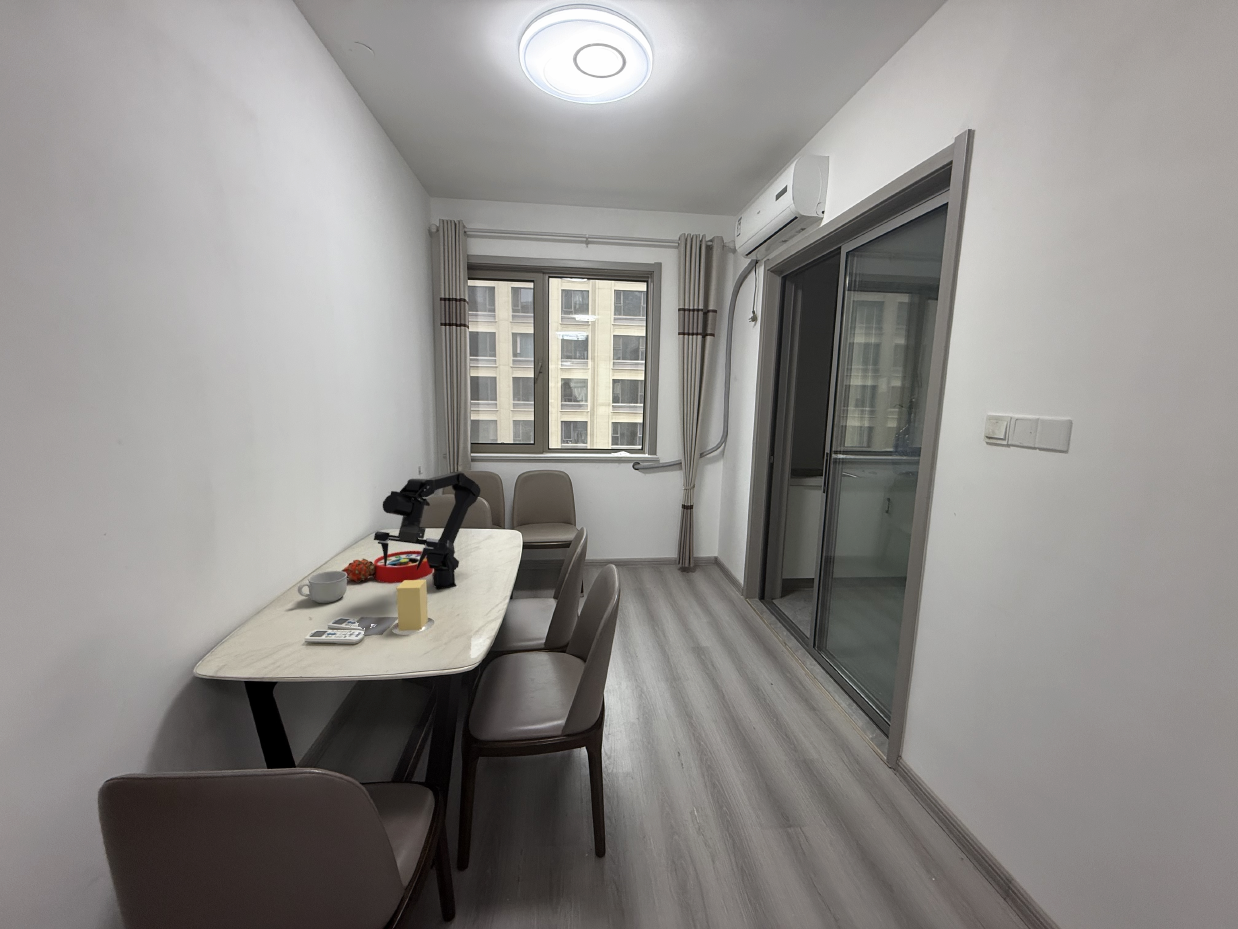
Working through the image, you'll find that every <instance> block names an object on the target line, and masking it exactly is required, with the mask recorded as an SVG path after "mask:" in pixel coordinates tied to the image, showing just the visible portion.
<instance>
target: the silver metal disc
mask: <svg viewBox="0 0 1238 929" xmlns="http://www.w3.org/2000/svg"><path fill="white" fill-rule="evenodd" d="M434 625H435V620H434V619H433V618H431V617H428V621H427V622H426V624H425V625H424V627H423V628H422V630H400V631H399V627H398V622H396V623H394V624H393V626H392V627H391V631H392V632H393V633H394V634H397V635H404V636H405V635H408V636H409V635H414V634H420V633H423V632H426V631H428V630H429V629H431V628H432V627H434Z"/></svg>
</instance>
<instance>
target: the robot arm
mask: <svg viewBox="0 0 1238 929" xmlns="http://www.w3.org/2000/svg"><path fill="white" fill-rule="evenodd" d="M450 486H451V489H452V490H453V491H454V494H453V497H454V502H455V503H454V505H453V507H452V510H451V511H450V515H449V516H448V519H447V521H446V523H445V526H444V528H443V530H442V532H441V535H440V537H439V538H438V539H437V538H431V537H426V539H424V538H425V534H426V529H427V528H426V527H425V526H421V524H422V520H423V516H424V513H425V512H424V511H425V507H430V506H431V504H430V502H429V501H428V499H427V498H428V497H430V496H432V495H434V494H435V493H436V491H438V490H441V489H444V488H448V487H450ZM480 495H481V487H480V486H479V484H477V482H475V481H474V479H471V478H469V477H467V475H466V474H465V473H464V472H461V471H451V472H448V473H445V474H441V475H438V476H433V477H430V478H410V479H408V480H407V482H406V484H404V486H403V487H402V488H401V489H400V490H399V491H397V490H391V491H390V494H389V495H387V496H386V497H385V499H384V500H383V501H382V510H383V511H384V512H385V513H386V514H390V515H395V516H401V517H402V518H401V523H400V526H399V531H398V535H393V534H391V532H386V531H378V530H376V532H375V533H374V535H373V541H377V544H379V545H381V546H380V547H381V549H382V552H383V553H382V554H383V555H382V556H384V566H386V564H387V557H388V554H389V544H390V543H389V542H398V543H399V542H400V543H407V544H413V545H419V546H420V545H423V546H424V547H422V549H421V551H422V553H421V556H420V559H419V561H418V564H417V569H416V570H418V569H419V567H420V565H421V563H422V561H423V560H424V558H425V556H426V559H427V562H428V565H429V568H430V569H433V572H432V573H431V575H432V585H433V587H435V589H436V590H440V589H447V588H452V587H456V586H457V583H456V581H455V580H456V579H455V577H456V576H455V571H456V570H457V569H458V568H459V565H460V561H459V560H458V559H457V557H455V553H456V551H455V546H454V545H455V541H456V539H457V537H458V534H459V531H460V529H461V528H462V525H463V522H464V520H465V517H466V515H467V513H468V511H469V510H468V509H469V508H470V507H471V506H473V505H474V504H475V503H476V502H477V500H478V498H479V496H480Z"/></svg>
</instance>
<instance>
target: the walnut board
mask: <svg viewBox="0 0 1238 929" xmlns="http://www.w3.org/2000/svg"><path fill="white" fill-rule="evenodd" d="M396 621H398V616H361V617H360V618H359V619H358V620H356V621H355V622H357V623H359V624H358V627H361V628H362V629H364V628H365V632H364V634H363V635H362V636H365V635H366V636H382V635H384V634H385V632H387V631H388V630H389V629H390V627H391V626H392V625H394V624H395V622H396ZM371 624H377V625H376V626H375V627H372V628H370V627H371ZM351 626H352V625H351ZM351 626H349V627H351Z"/></svg>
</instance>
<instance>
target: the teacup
mask: <svg viewBox="0 0 1238 929" xmlns="http://www.w3.org/2000/svg"><path fill="white" fill-rule="evenodd" d="M307 580H308V582H302V583H301V584H299V585H298V586H297V587H298V588H297V593H298V594H299V595H300V596H302V597H304V598H308V599H309V600H313V601H314V602H317V603H319V604H328V603H334V602H337V601H338V600H340V599H341V598H342V597H343V596H344V595H345V594H346V593H347V585H348V581H347V573H346V572H343V571H342V570H325V571H320V572H317V573H313V574H311V575H310V576H308V579H307ZM304 587H307V588H308V593H304V592H303V588H304Z"/></svg>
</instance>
